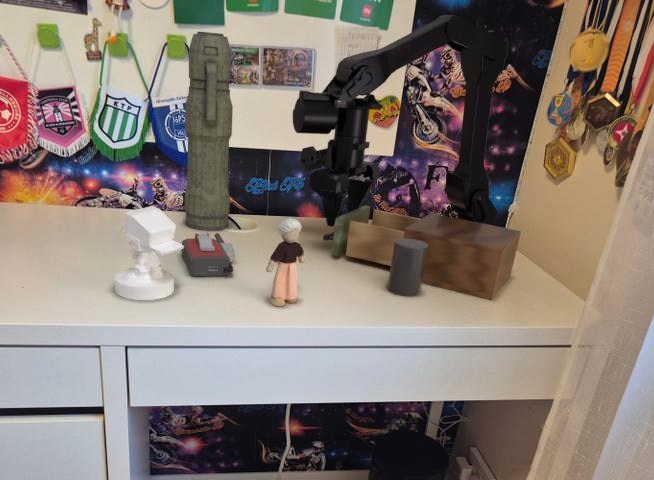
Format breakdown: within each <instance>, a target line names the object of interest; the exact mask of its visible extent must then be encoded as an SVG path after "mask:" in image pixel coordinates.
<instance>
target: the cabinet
mask: <svg viewBox="0 0 654 480" xmlns="http://www.w3.org/2000/svg"><path fill="white" fill-rule="evenodd" d="M420 219H421V220H419V221H417V222H416V223H414V224H412V225H410V226H409V227H407V228H405V232H404V239H415V240H419V241H423V242H425V243H427V244H428V252H427V257H426V263H425V268H424V274H423V280H422V284H425V285H429V286H434V287H438V288H441V289H446V290H449V291H454V292H458V293H462V294H465V295H470V296H474V297H478V298H483V299H486V300H491V301H492V300H493V299H494V298H495V296H496V295H497V294H498V293H499V292H500V290H501V289H502V288H503V286H504V285H505V284H506V283H507V282H508V280H509V279H510V278H511V275H512V271H513V267H514V263H515V259H516V254H517V250H518V246H519V242H520V238H521V234H522V231H521V230H517V229H512V228H507V227H504V226H503V227H502V226H497V225H492V224H487V223H485V224H483V223H478V222H473V221H468V220H463V219H458V218H457V217H453V216H447V215H442V214H437V213H432V212H431V213H430V214H427V215H426V216H425V217H422V218H420Z"/></svg>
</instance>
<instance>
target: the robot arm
mask: <svg viewBox="0 0 654 480" xmlns="http://www.w3.org/2000/svg"><path fill="white" fill-rule="evenodd" d="M445 45H446V46H448V48H450V49H451V50H453V51H455V52H456V53H458V54H459V55H460V56H459V57H460V58H459V59H460V70H461V72H462V77H463V78H464V82H465V94H464V105H463V113H462V114H463V115H462V123H461V134H460V142H459V151H458V153H459V154H458V162H457V164H456V166H455V167H454V169H453V171H446V174H445V179H446V181H445V182H446V183H445V187H444V189H443V192H445V193H446V199H447V200H448V201H449V204H450V205H449V206H450V210H451V212H454V213H457V215H456V218H458V219H463V220H468V221H473V222H478V223H483V224H486V223H488V222H493V221H494V220H495V218H496V216H497V214H498V209H497V208H496V207H495V205H494V203H493V201H492V199H490V179H489V176H488V173H487V170H486V167H485V158H486V149H487V141H488V132H489V124H490V117H491V107H492V101H493V93H494V92H493V91H494V85H495V83H496V81H498V80H497V79H498V78H499V76H500V75H501V74H502V72H503V70H504V66H505V63H506V59H507V55H508V51H509V41H508V39H507V38H506V36H505V34H504V33H502V32H501V31H498V30H487V29H485V28H483V27H480V26H477V25H475V24H473V23H471V22H468V21H466V20H464V19H463V18H461V17H460V16H458V15H455V14H454V15H453V14H451V15H450V14H449V15H448V14H447V15H446V14H444V15H440V16H438V17H437V18H436V19H435V20H433V21H431V22H430V23H427V24H425V25H424V26H421V27H420V28H418V29H416V30H413V31H412V32H410V33H408V34H406V35H404V36H402V37H401V38H399V39H397V40H395V41H393V42H390V43H389V44H387V45H384V46H383V47H381V48H378V49H374V50H368V51H363V52H360V53H356V54H352V55H350V56H346V57H344V58H343V59H341V60H340V61H339V62H338V64H337V67H336V71H335V75H334V76H333V77H332V79H331V80H330V81H329V83H328V84H327V85H326V86H325V88H323V90H322V91H321V92H314V91H313V92H312V91H309V90H299V92H298V98H297V100H296V101H295V104H294V108H293V109H292V124H293V129H294V132H295V133H296V134H309V135H314V134H315V135H329V134H330V133H331V132H332V131H334V133H333V134H334V135H333V138H332V139H329V141H327V146H326V148H322V149H318V150H317V149H316V147H315V146H314V145H312V146H307V147H303V148H302V149H301V153H300V155H299V156H300V159H299V164H301V165H302V166H303V167H304V170H305V172H311V171H312V170H314V171H313V172H311V173H310V174H309V176H308V186H307V187H309V188H311V190H312V191H313V192H314V193H316V194H317V195H318V196H319V197H320V198H321V203H322V207H323V210H324V215H325V216H324V217H325V221H326V224H327V226H328V227H330V228H333V227H335V220H336V218H337V217H339V216H340V212H341V210H342V208H343V206H344V203H345V201H346V198H347V213H349V212H351V211H353V210H356V209H358V208H360V207H362V204H363V202H364V201H365V199H366V197H367V195H368V194H369V192H370V191H371V189H372V188H373V186H374V185H375V184H376V181H377V180H378V179H380V172H381V167H379V165H378V163H377V162H372V161H366V160H365V152H366V149H369V148H370V141H367V134H368V127H369V118H370V110H376V111H377V110H378V111H380V110H382V109H383V106H382V105H381V104H380V102H378V100H377V98H376V97H375V96H376V95H375V94H372V93H373V92H374V91H376V90H377V89H378V88H380V87H381V86H382V85H383V84H384V83H386V81H388V79H389V78H390V76H391V75H393V74H394V73H395V72H396V71H398V70H400V69H401V68H404V67H406V66H408V65H409V64H411V63H413V62H415V61H417V60H418V59H420V58H422V57H424V56H426V55H428V54H430V53H432V52H434V51H435V50H438V49H439V48H441V47H443V46H445ZM359 96H362V97H359ZM363 96H364V97H363Z"/></svg>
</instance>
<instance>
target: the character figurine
mask: <svg viewBox="0 0 654 480" xmlns="http://www.w3.org/2000/svg"><path fill="white" fill-rule="evenodd" d="M121 229H123V233H124V234H125V235H126V237H127V239H128V240H129V243H128V244H129V249H130V255H131V259H133V260H135V262H134V263H135V265H134V266H133V268H127V269H124V270H122V271H119V272H117V273H116V274H115V275H114V291H115V293H116V294H117V295H118V296H119V297H122V298H125V299H128V300H133V301H153V300H159V299H165V298H166V297H169V296H171V295H172V294H173V293H174V292H175V276H174V274H173V273H171V272H170V271H168V270H166V269H162V268H163V263H162V261H161V260H160V258H159V255H160V256H165V255H168V254H171V253H175V252H178V251H181V249H183V248H184V245H182V243H180V242H177V241H176V240H174V238H175V234H176V229H177V225H176V224H175V223H174V222H173V221H172V219H171V218H169V216H167V214H166V213H165V212H164V211H162V210H161V208H158V207H156V206H154V205H151V206H146V207H142V208H139V209H138V208H137V209H133V210H130V211H126V213H125V215H124V223H123V227H121Z"/></svg>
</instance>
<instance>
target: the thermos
mask: <svg viewBox="0 0 654 480" xmlns="http://www.w3.org/2000/svg"><path fill="white" fill-rule="evenodd" d="M196 32H197V33H193V34H192V37H191V41H190V44H189V48H188V79H189V86H188V93H187V97H186V100H185V103H184V104H185V105H184V107H185V108H184V109H185V110H184V117H185V118H184V121H185V123H184V124H185V125H184V129H185V130H184V132H185V135H186V137H187V185H186V188H185V193H184V212H185V225H186V227H189V228H191V229H195V230H200V231H221V230H226V229H227V228H228V227H229V215H230V212H231V211H230V208H231V197H230V192H229V188H228V184H229V157H230V154H229V153H230V140H231V137H232V135H233V109H234V108H233V107H234V106H233V104H232V103H233V102H232V99H231V90H230V82H231V71H232V70H231V69H232V66H231V65H232V52H231V50H232V49H231V46H230V43H229V39H228V36H224V33H218V32H207V31H196Z"/></svg>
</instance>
